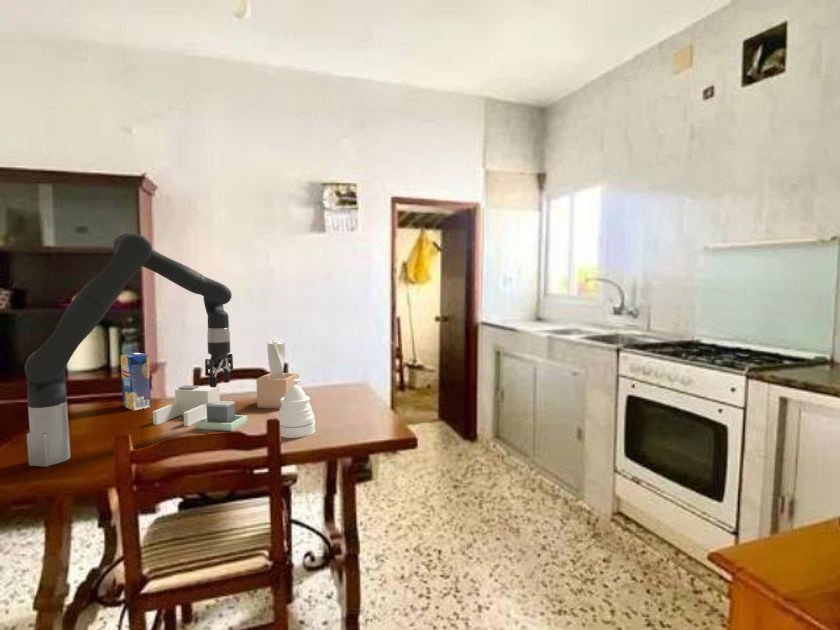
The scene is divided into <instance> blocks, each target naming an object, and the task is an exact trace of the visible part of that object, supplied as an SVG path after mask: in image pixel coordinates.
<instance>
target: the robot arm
mask: <svg viewBox="0 0 840 630" xmlns="http://www.w3.org/2000/svg"><path fill="white" fill-rule="evenodd" d="M112 244H113V245H112V249H113V252H114V255H113V257H112V258H111V260H110V262H109V263H108V264H107V266H106V267H105V268H104V269H103V270H102V271H101V272H100V273H98V274H97V275H95V276H94V277H93V278H92V279H90V281H88V282H87V283H86V284H85V285H84V286H83V287H82V288H81V289H80V290H79V291H78V293H77V294H76V295H75V297H74V298H73V299H72V301H71V302H70V303H69V305H68V306H67V308H66V309H65V311H64V312H63V314H62V316H61V317H60V320H59V321H58V323H57V325H56V326H55V329H54V331H53V332H52V334H51V335H50V336H49V337H48V339H46V341H45V342H44V343H43V344H42V345H41V346H40V347H39V348H38V349H37V350H36V351H33V352H31V354H30V355H29V356H28V357H27V359H26V361H25V364H24V372H25V375H26V384H27V409H28V422H29V423H28V425H29V432H28V433H26V443H27V456H28V466H31V467H33V466H34V467H50V466H53V465H57V464H61V463H63V462H66V461H68V460H70V458H71V446H70V445H71V444H70V443H71V442H70V429H69V416H68V414H69V412H68V401H67V385H66V383H67V382H66V381H67V380H66V366H67V365H68V363H69V362H70V360H71V358H72V357H73V355H74V354H75V352H76V350H77V348H78V347H79V346H80V345H81V343H82V342H83V341H84V340H85V339H86V338H87V337H88V336H89V335H90V334H91V333H92V331H94V329H95V328H96V327H97V326H98V325H99V323H100V322H101V321H102V320H103V318H104V317H105V315H106V314H107V313H108V312H109V310H110V309H111V307H112V306H113V304H114V303H115V301H116V300H117V299H118V297H119V296H120V294H121V293H122V291H123V290H124V289H125V288H126V286H127V284H128V283H129V282H130V280H131V279H132V278H133V277H134V276H135V274H137V272H138V271H139V270H140V269H142V267H144V268H146V269H147V270H150V271H151V272H153V273H156V274H157V275H160V276H162V277H163V278H165V279H167V280H168V281H170V282H172V283H173V284H175V285H177V286H178V287H180V288H183V289H185V290H186V291H188V292H190V293H193V294H196V295H201V296H203V303H204V308H205V311H206V316H207V334H206V335H207V353H208V354H209V355H210V358H206V359H205V360H204V361H205V362H204V376H205V377H208V378H209V386H210V387H213V388H215V387H218V386H217V382H218V381H217V376H218V373H219V372H220V370H222V382H223V383H225V384H227V383H230V381H231V380H230V378H231V377H230V373H231V371H233V369H234V362H233V361H234V359H233V354H232V353H231V333H230V323H229V322H230V320H229V318H230V317H229V313H228V312H226V311H225V310H224V309H225V308H224V305H226V304H228V303H229V302H230V301H231V300H232V295H233V294H232V291H231V290H230V288H229V287H228V286H227V285H225V284H223V283H221V282H219V281H217V280H215V279H212V278H209V277H206V276H205V275H203V274H202V273H200V272H198V271H196V270H195V269H193V268H190V266H187V265H185V264H182V262H178V261H176V260H173V259H172V258H170V257H167V256H166V255H164V254H162V253H160V252H159V251H157V250H155V249H153V247H152V243H151V242H150V240H149V239H148V238H147V237H145V236H143V235H140V234H136V233H128V232H127V233H124V234H120V235H119V236H117V237H116V238H115V239H114V241H113V243H112Z"/></svg>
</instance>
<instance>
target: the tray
mask: <svg viewBox="0 0 840 630" xmlns="http://www.w3.org/2000/svg"><path fill="white" fill-rule="evenodd" d="M247 423H248V415H243V414H241V415H239V414H235V421H233V422H232V423H215V422H207V417H206V418H204V419H201V420H199V421H197V422H195V423H194V426H195V427H194V428H195V430H201V431H202V430H203V431H218V432H219V431H222V432H233V431H235V430H236V429H238V428H240V427H242V426H243V425H245V424H247Z"/></svg>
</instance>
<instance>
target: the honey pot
mask: <svg viewBox="0 0 840 630" xmlns="http://www.w3.org/2000/svg"><path fill="white" fill-rule="evenodd" d="M293 381H294V384H295V385H292V386H291V387H290V388H289V389H288V391H287V393H286V395H285V397H283V398H281V399H280V402H281V403H282V405H281V408H279V412H278V416H277V418H276V420H277V419H278V420H279V421H280V425H281V434H282V437H281V438H287V439H288V438H289V439H292V438H293V439H294V438H303V437H306V436H310V435H313V434H314V433H315V432H316V419H315V418H316V417H315V414H314V410H313V409H312V406H311V404H310V400H311V397H310V396H308V395H306V393H305V391H304V390H303V388H302V387H301V386H300V384H301V382H302V379H300V378H299V379H295V380H293ZM298 385H299V386H298Z"/></svg>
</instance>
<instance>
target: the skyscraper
mask: <svg viewBox="0 0 840 630" xmlns="http://www.w3.org/2000/svg"><path fill="white" fill-rule="evenodd" d="M280 341H282V342H280ZM267 360H268V366H269V367H268V368H269V372H270V373H271V376H270V379H284V373H285V372H284V367H285V363H286V361H285V360H286V342H285V340H284V339H282V338H280V337H279V338H276V337H275V338H272V339H271V340H270V341H267ZM286 373H287V377H289V376H288V373H289V372H288V371H287V372H286Z"/></svg>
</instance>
